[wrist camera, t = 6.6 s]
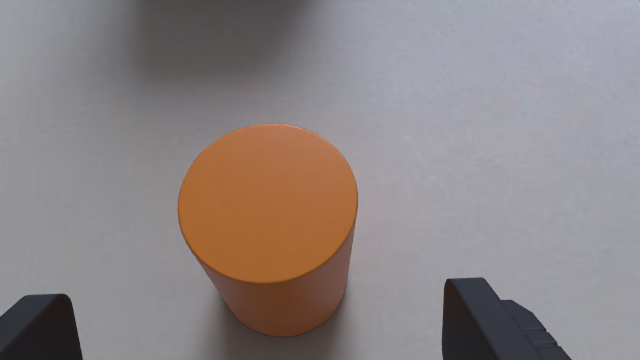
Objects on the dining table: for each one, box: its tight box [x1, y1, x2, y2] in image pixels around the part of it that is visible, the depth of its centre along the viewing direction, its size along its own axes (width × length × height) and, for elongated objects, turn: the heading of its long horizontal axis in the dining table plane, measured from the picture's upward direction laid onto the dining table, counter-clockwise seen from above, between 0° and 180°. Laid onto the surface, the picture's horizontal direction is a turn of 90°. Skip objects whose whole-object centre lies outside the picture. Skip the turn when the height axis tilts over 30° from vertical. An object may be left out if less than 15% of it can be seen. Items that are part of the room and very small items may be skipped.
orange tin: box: [178, 124, 358, 337], centre depth 17 cm, size 5×5×7 cm
